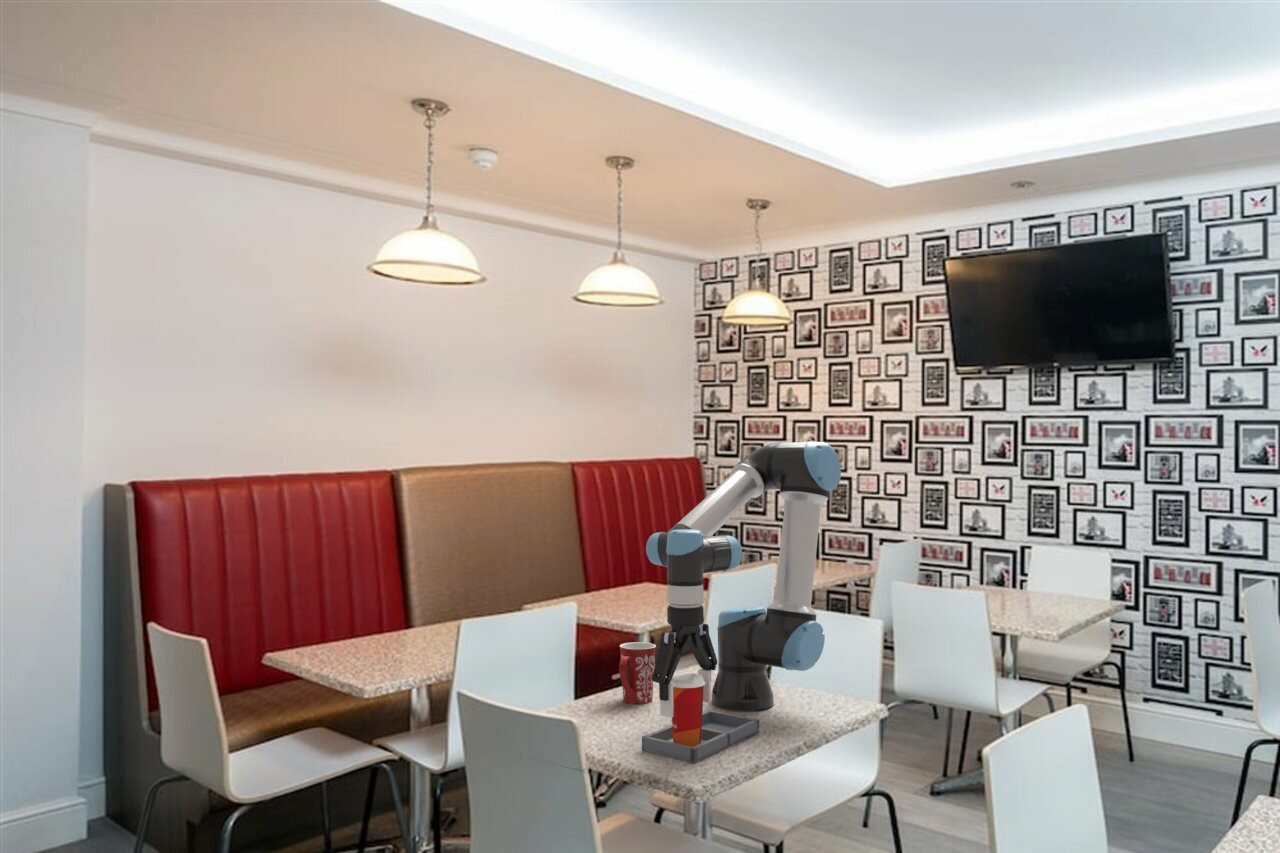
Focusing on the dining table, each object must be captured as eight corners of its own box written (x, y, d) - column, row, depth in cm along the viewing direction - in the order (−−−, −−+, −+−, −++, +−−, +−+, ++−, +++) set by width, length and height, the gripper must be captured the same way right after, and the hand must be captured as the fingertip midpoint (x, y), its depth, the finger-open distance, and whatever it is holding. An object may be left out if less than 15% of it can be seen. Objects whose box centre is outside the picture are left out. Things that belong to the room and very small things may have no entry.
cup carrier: (709, 722, 200) (709, 709, 201) (759, 732, 192) (759, 719, 193) (641, 750, 181) (641, 736, 181) (694, 763, 173) (694, 749, 173)
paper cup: (679, 737, 187) (679, 670, 188) (712, 743, 183) (711, 675, 184) (661, 747, 181) (660, 678, 181) (694, 753, 177) (694, 683, 177)
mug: (631, 693, 226) (631, 640, 227) (662, 698, 221) (662, 643, 222) (604, 705, 215) (604, 649, 216) (636, 710, 210) (636, 653, 211)
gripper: (703, 595, 195) (704, 692, 194) (633, 611, 176) (634, 719, 175) (732, 598, 191) (733, 698, 190) (664, 615, 171) (665, 726, 170)
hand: (686, 708), depth 182 cm, fingers open, 13 cm apart
